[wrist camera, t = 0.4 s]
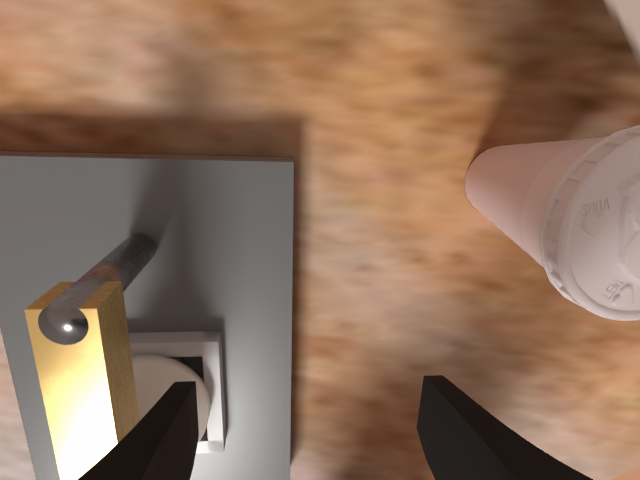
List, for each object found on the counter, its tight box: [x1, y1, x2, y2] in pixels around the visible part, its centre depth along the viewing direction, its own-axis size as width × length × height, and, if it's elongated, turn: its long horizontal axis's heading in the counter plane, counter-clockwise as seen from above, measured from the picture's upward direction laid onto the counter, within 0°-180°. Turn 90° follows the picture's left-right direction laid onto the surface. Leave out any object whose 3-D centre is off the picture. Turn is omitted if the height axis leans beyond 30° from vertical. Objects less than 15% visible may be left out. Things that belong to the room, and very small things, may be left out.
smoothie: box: [465, 125, 640, 321], centre depth 15 cm, size 6×6×14 cm
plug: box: [132, 355, 211, 442], centre depth 19 cm, size 6×6×5 cm
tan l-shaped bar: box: [24, 233, 156, 480], centre depth 17 cm, size 15×2×7 cm, turn 178°
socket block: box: [0, 151, 294, 480], centre depth 21 cm, size 20×14×3 cm
